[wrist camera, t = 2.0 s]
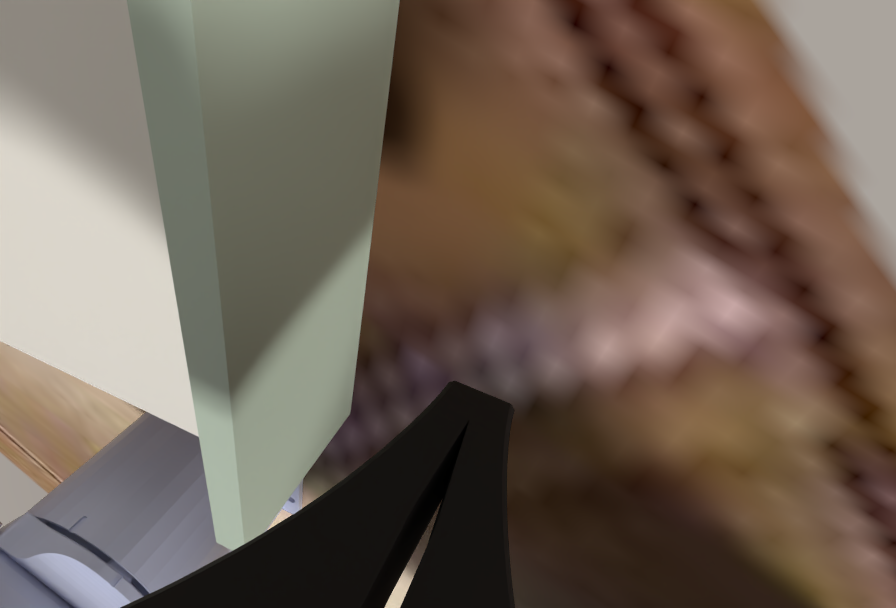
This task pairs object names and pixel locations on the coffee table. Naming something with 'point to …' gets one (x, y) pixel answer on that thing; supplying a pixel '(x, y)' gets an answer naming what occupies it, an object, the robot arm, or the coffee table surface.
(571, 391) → the coffee table surface
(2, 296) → the lid
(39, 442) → the coffee table surface
